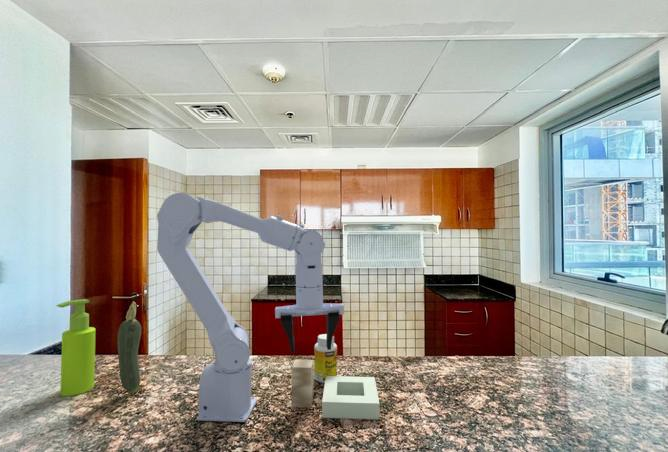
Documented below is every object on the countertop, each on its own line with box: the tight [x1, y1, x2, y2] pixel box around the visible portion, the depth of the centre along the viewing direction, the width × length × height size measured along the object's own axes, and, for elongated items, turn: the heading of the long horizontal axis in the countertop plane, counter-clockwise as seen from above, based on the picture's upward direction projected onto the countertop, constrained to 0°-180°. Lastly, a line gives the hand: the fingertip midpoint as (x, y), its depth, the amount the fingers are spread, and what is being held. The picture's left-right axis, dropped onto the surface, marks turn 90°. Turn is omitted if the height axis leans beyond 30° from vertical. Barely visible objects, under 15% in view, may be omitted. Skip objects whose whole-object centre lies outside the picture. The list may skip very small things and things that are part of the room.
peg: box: [291, 359, 314, 408], centre depth 66 cm, size 4×4×8 cm
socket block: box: [321, 375, 381, 420], centre depth 65 cm, size 11×11×3 cm
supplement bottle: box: [313, 333, 338, 384], centre depth 77 cm, size 6×6×10 cm
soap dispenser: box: [56, 298, 97, 397], centre depth 70 cm, size 6×7×20 cm
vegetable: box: [116, 300, 142, 394], centre depth 69 cm, size 4×4×20 cm
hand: (310, 349), depth 67 cm, fingers open, 7 cm apart
